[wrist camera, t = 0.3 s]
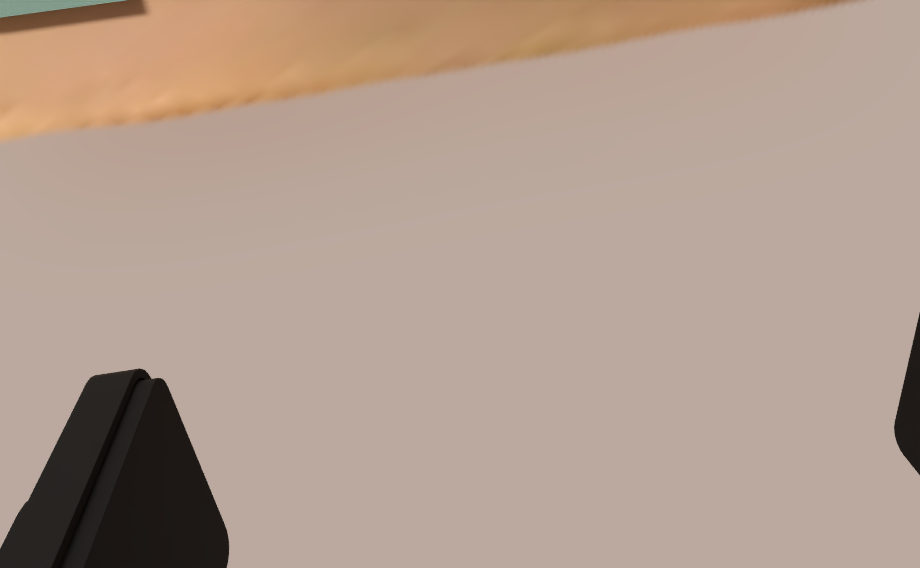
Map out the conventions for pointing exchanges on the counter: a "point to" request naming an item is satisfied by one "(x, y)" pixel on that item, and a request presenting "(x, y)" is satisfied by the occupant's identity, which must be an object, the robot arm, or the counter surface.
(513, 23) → the counter surface
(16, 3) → the green mat
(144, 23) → the counter surface
